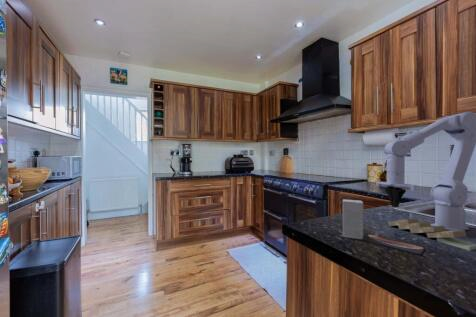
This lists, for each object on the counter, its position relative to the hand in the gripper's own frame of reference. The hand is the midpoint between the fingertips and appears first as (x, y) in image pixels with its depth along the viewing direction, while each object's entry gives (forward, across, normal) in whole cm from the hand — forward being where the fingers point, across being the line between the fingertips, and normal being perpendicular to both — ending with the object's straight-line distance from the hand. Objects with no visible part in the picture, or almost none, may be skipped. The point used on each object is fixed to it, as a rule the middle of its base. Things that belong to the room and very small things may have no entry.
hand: (394, 206), depth 87 cm
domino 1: (+7, 0, 0) cm, 7 cm away
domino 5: (+7, +15, 0) cm, 17 cm away
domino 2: (+7, +4, 0) cm, 8 cm away
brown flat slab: (+8, +13, -20) cm, 25 cm away
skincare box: (+8, +4, -26) cm, 28 cm away
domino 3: (+7, +8, -1) cm, 10 cm away
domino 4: (+6, +13, -1) cm, 15 cm away
